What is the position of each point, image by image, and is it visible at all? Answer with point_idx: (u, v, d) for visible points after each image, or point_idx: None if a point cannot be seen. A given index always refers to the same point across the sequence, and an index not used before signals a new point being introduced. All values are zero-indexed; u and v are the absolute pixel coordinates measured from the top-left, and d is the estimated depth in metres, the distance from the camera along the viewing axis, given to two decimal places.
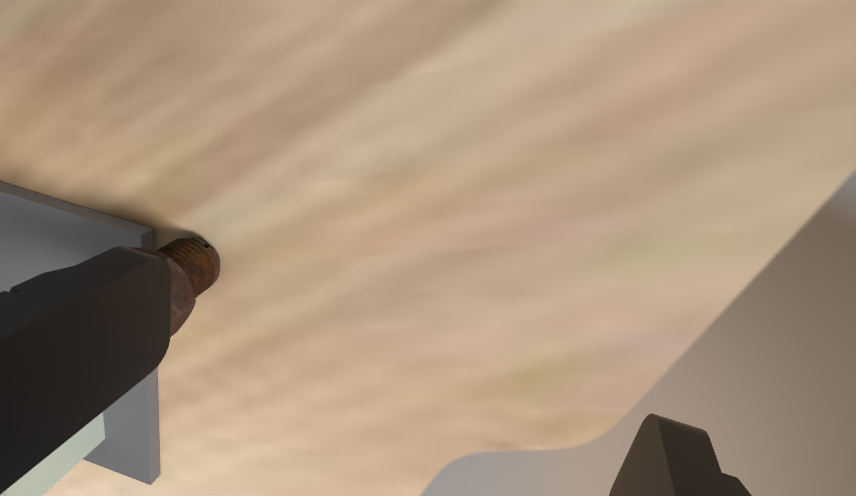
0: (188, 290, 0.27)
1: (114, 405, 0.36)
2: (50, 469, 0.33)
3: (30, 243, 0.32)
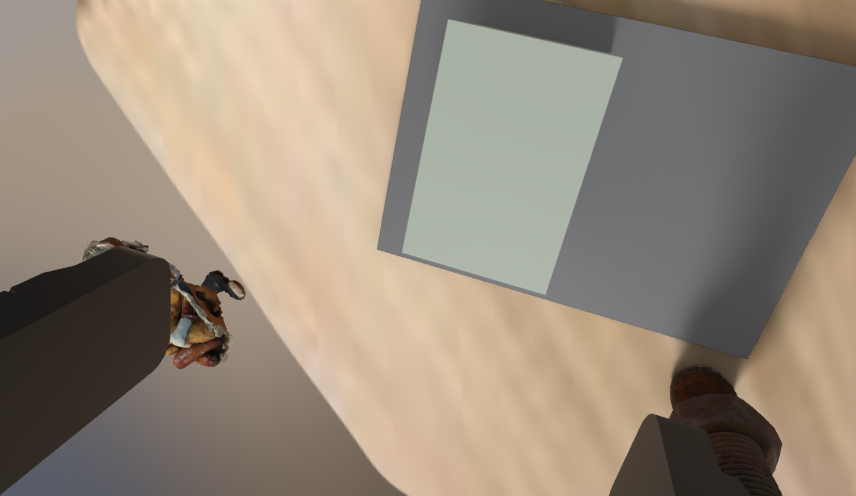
0: None
1: None
2: None
3: (752, 204, 0.25)
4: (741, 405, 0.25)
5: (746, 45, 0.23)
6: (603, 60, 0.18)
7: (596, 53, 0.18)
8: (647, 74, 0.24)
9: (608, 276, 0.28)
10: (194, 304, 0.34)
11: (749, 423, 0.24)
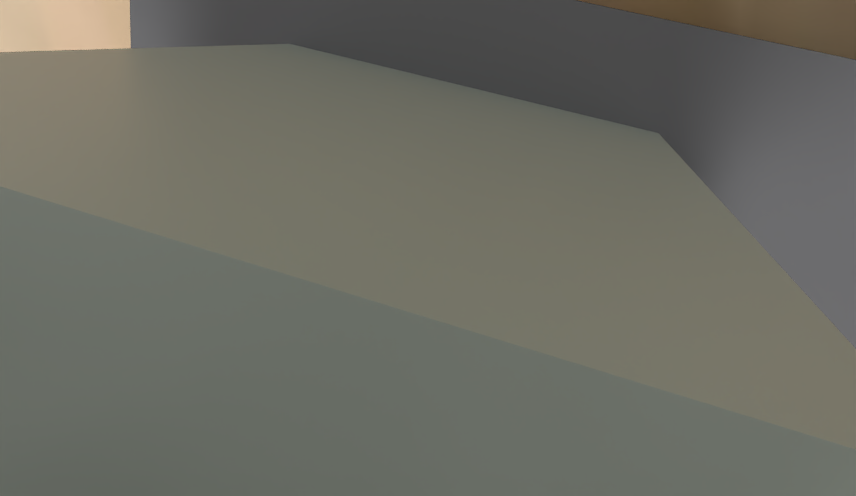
0: None
1: None
2: None
3: None
4: None
5: None
6: (771, 477, 0.02)
7: (707, 416, 0.02)
8: (769, 197, 0.08)
9: None
10: None
11: None
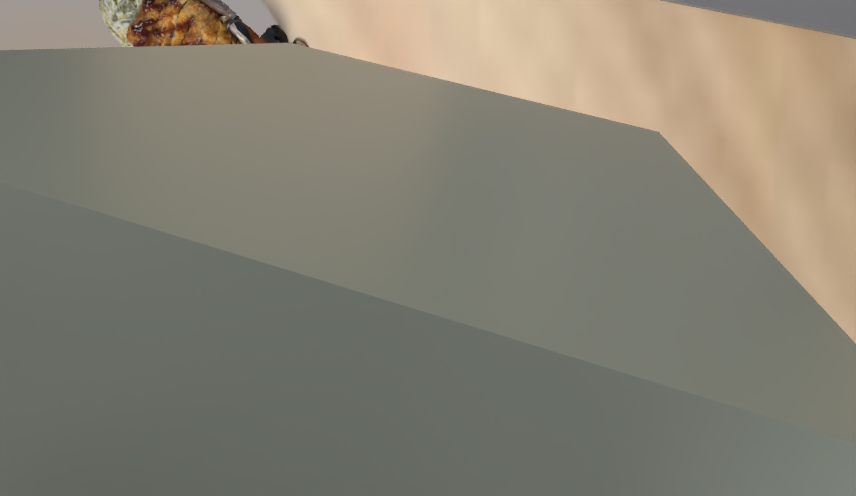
0: None
1: None
2: None
3: None
4: None
5: None
6: (773, 472, 0.02)
7: (709, 411, 0.02)
8: None
9: None
10: None
11: None
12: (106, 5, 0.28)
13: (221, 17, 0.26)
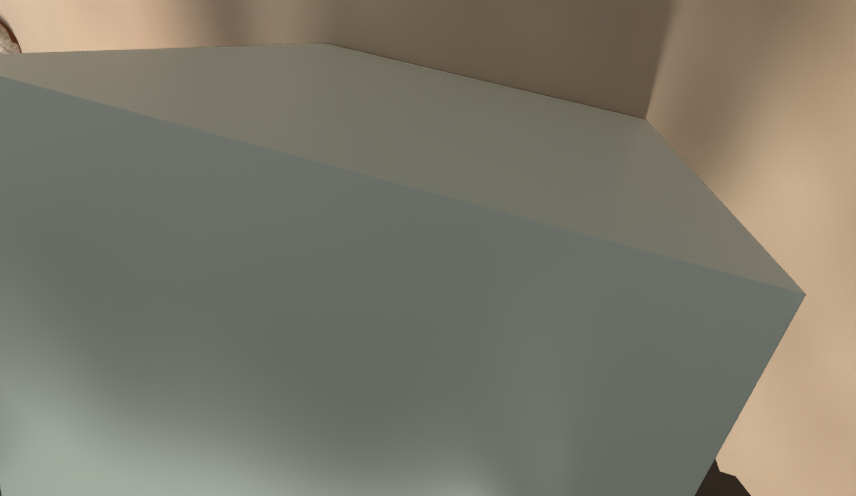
0: None
1: None
2: None
3: None
4: None
5: None
6: (689, 297, 0.03)
7: (650, 259, 0.03)
8: None
9: None
10: None
11: None
12: None
13: None
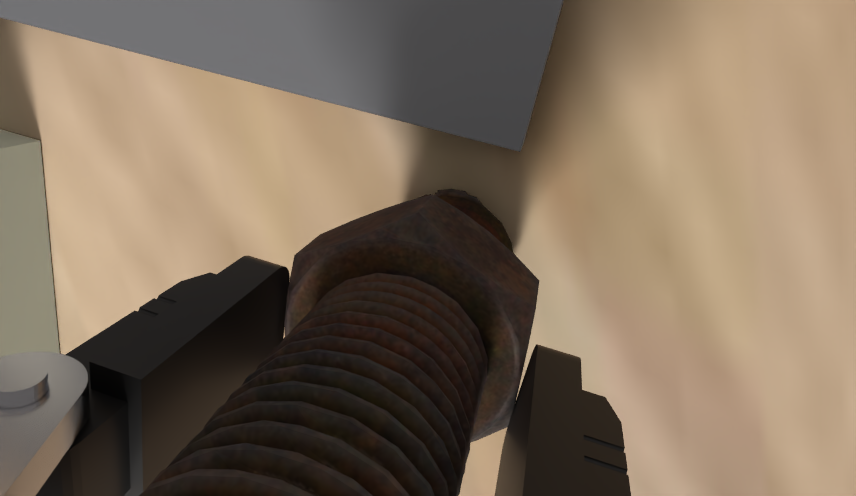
0: None
1: None
2: None
3: None
4: (438, 213, 0.09)
5: None
6: None
7: None
8: None
9: None
10: None
11: (434, 246, 0.09)
12: None
13: None
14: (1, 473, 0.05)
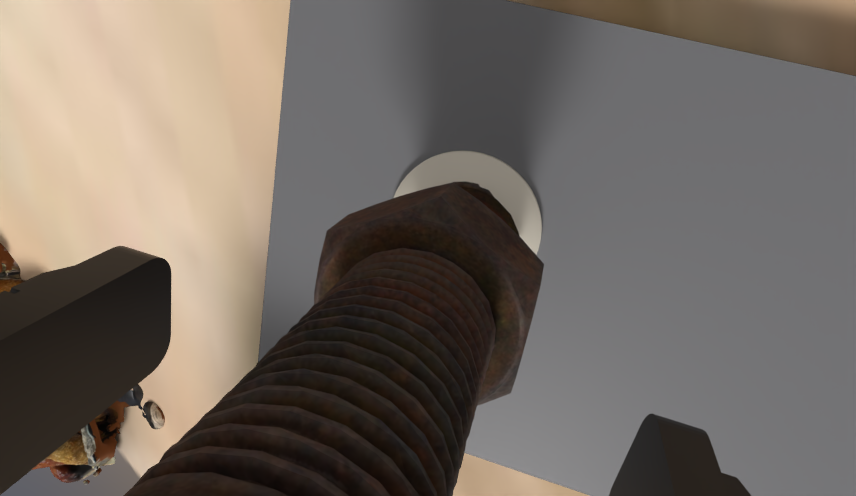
0: None
1: None
2: None
3: None
4: (457, 198, 0.10)
5: None
6: None
7: None
8: (687, 131, 0.13)
9: (613, 444, 0.17)
10: (84, 429, 0.21)
11: (454, 227, 0.10)
12: None
13: None
14: None
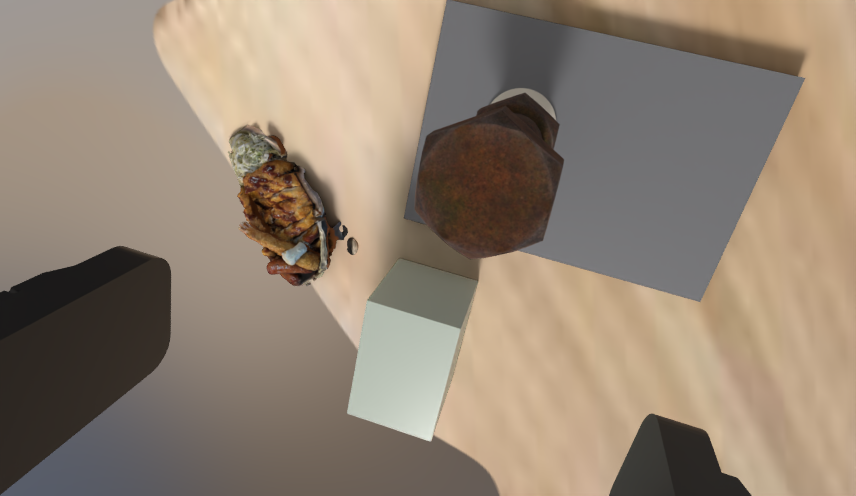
0: None
1: None
2: None
3: (701, 178, 0.32)
4: (528, 97, 0.28)
5: (693, 55, 0.30)
6: (450, 329, 0.33)
7: (447, 325, 0.33)
8: (620, 77, 0.31)
9: (590, 237, 0.35)
10: (324, 244, 0.38)
11: (529, 104, 0.27)
12: (238, 149, 0.39)
13: (314, 211, 0.38)
14: None
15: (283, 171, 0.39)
